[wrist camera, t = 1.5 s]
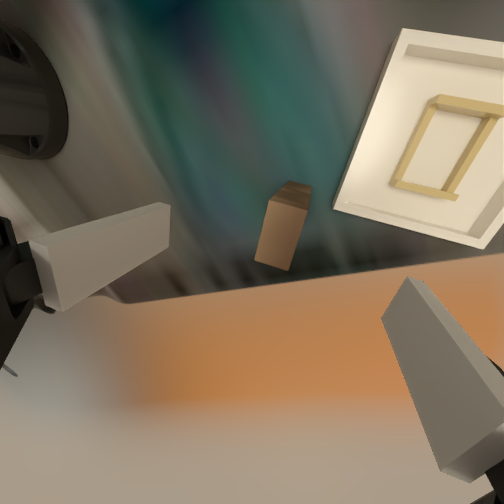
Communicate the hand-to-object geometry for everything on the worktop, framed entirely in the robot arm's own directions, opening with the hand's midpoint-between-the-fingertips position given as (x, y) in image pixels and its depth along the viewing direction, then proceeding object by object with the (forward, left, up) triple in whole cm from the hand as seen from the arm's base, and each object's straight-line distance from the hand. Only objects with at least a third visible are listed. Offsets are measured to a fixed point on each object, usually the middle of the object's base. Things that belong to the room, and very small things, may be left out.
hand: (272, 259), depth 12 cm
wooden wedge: (0, 0, -15) cm, 15 cm away
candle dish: (+11, +8, -15) cm, 20 cm away
